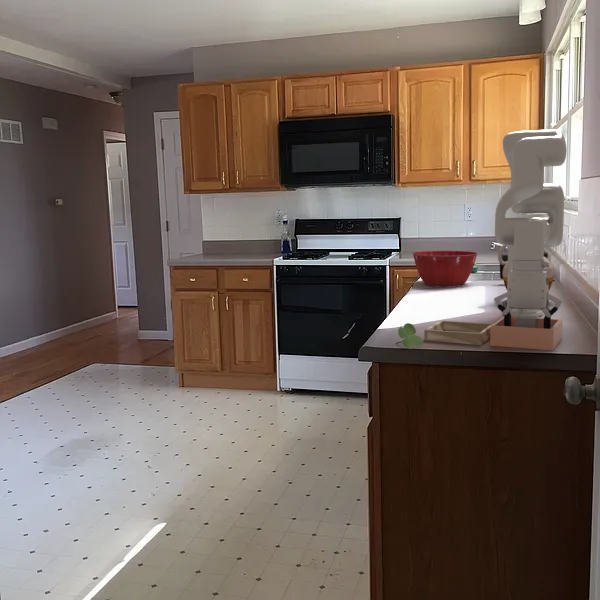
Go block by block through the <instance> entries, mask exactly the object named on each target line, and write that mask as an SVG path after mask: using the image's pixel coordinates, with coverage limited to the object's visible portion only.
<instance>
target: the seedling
mask: <svg viewBox="0 0 600 600" xmlns="http://www.w3.org/2000/svg"><path fill="white" fill-rule="evenodd" d="M397 331H398V332H397V333H398V334H397V335H398V336H399V338H401V339H402V340H401V341H399V342H396V343H395V345H398V344H401V343H402V345H403V347H405V348H407V349H409V350H411V349H413V348H414V347H416V348H419V347H421V346H422V345H423V343H424V339H422V337H421V336H419V335H417V334H416V333H417V330H416V328H415V326H414V325H413V324H412V323H405V324H404V325H403V327H401V326H400V327H398V329H397ZM413 345H414V347H413Z"/></svg>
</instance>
